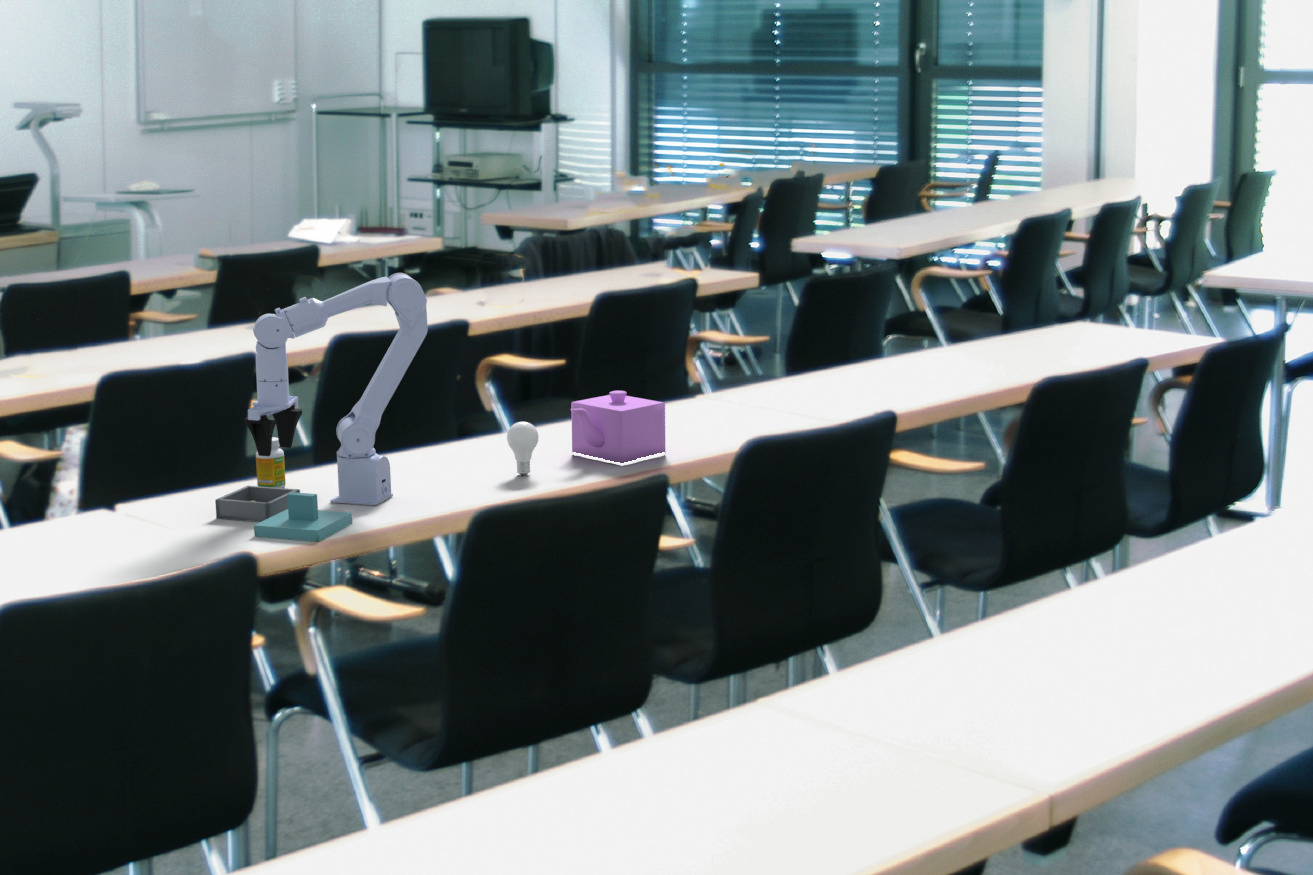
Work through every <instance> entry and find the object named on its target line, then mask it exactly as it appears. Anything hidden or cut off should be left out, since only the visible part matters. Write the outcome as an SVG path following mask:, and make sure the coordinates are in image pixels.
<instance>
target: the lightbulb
mask: <svg viewBox="0 0 1313 875" xmlns="http://www.w3.org/2000/svg"><path fill="white" fill-rule="evenodd" d="M506 440H507V444H508V446H509V448H510V449H511V451H512V453H513V455H514V459H515V461H516V473H517V474H519V475H520V474H522V475H521V476H526V475H528V474H530V473H531V459H532V457H533V456H532V455H533V452H534V450H535V448H536V447H537V445H538V442H539V432H538V430H537V428H536V427H535V425H533V424H532V423H531V422H528V421H518V422H515V423H513V424H512V425H511V426H510V427H509V428H508V431H507V433H506ZM525 474H526V475H525Z"/></svg>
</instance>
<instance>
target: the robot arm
mask: <svg viewBox="0 0 1313 875" xmlns="http://www.w3.org/2000/svg"><path fill="white" fill-rule="evenodd" d="M427 303H428V299H427V297H426V294H425V292H424V290H423V288H422V286H421V285H420V283H419V282H418V281H417V280H415V279H414V278H412V277H411V276H410V275H408V274H407V273H403V272H396V273H393V274H391V275H390V276H388V277H387V276H383V277H382V276H381V277H379V278H378V277H377V278H376V279H372V280H370V281H367V282H365V283H362V284H359V285H357V286H354V287H352V288H351V289H348V290H346V291H343V292H341V293H339V294H337V295H334V296H332V297H329V298H327V299H325V300H319V299H317V298H315V297H311V298H307V297H306V296H303V297H302V298H301V297H300V298H299V302H298V303H295V304H292V305H291V306H287V307H285V308H282V309H281V308H280V307H277V308H275V309H274V312H275V313H265V314H263V315H261V316H259V317H258V318H257V319H256V321H255V322H254V326H253V329H252V332H253V335H254V337H255V339H256V340H257V341H256V345H255V350H256V354H255V372H256V373H255V374H256V375H255V376H256V397H257V400H255V401H253V402H252V407H251V408H249V409H247V417H244V424H245V425H246V427H247V428H248V430H249V432H250V433H251V436H252V438H253V441H254V444H255V447H256V452H257V451H258V454H259V456H270V455H271V448H272V437H273V434H274V430H275V427H276V431H277V438H278V440H279V445H280V446H279V448H285V449H291V448H292V447H293V442H294V437H295V432H296V429H297V426H298V422H299V421H300V419H301V417H302V415H303V409H302V408H297V407H299V396H295V395H294V396H292V395H290V387H289V365H288V364H289V362H288V359H289V358H288V354H287V346H286V342H287V341H288V339H296V338H299V337H302V336H303V335H306V334H309V333H312V332H315V331H317V330H319V329H322V328H325V326H326V324H327V322H328V320H329V318H331V317H335V316H337V315H339V314H342V313H346V312H348V311H351V310H354V309H357V308H360V307H363V306H366V305H369V304H372V305H377V306H383V307H387V306H388V304H389V306H390V307H391V308H392V310H393V311H394V315H395V318H396V320H397V323H398V326H399V329H398V330H397V333H396V334H395V336H394V338H393V339H392V342H391V344H390V346H389V347H388V348H387V351H386V353H385V354H384V356H383V358H382V360H381V361H380V363H379V365H378V366H377V368H376V371H375V372H374V374H373V376H372V377H371V379H370V380H369V382H368V385H367V386H366V388H365V390H364V392H363V394H362V395H361V397H360V398H359V400H358V401H357V402H356V403H355V405H353V407H352V408H351V411H350V412H349V413H348V414H347V415H345V416H344V417H342V418H341V419H340V420H339V421H338V423H337V426H336V428H335V429H336V432H335V433H336V436H337V437H336V438H337V440H338V441H339V443H340V447H339V448H338V450H337V451H336V464H337V481H338V482H337V483H338V495H337V496H335V497H333V498H330V500H329V501H330V502H331V503H337V504H338V503H340V504H351V505H363V506H364V505H365V506H377V505H378V504H380V503H382V502H384V501H386V500H387V499H389V498H392V497H393V496H394V493H392V481H391V479H392V478H391V477H392V476H391V464H390V460H389V459H388V457H387V456H384V455H381V454H378V453H377V452H376V449H375V448H374V445H375V441H376V433H377V430H378V428H379V426H380V424H381V419H382V415H383V414H384V412H385V410H386V408H387V406H388V404H389V402H390V400H391V399H392V397H393V396H394V394H395V392H396V390H397V388H398V386H399V385H400V383H401V381H402V379H403V378H404V376H405V374H406V372H407V370H408V369H409V366H410V365H411V363H412V361H413V359H414V357H415V356H416V354H417V352H418V350H419V349H420V347H421V345H422V344H423V342H424V340H425V338H426V336H427V334H428V331H429V330H428V328H429V327H428V326H429V325H428V313H427ZM271 415H272V416H273V419H269V416H271Z"/></svg>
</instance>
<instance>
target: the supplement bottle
mask: <svg viewBox="0 0 1313 875" xmlns="http://www.w3.org/2000/svg"><path fill="white" fill-rule="evenodd" d="M284 453H285V452H284V450H283V449H282V448H281V447H280V445H279V440H278V437H275V436H272V448H271V455H270V456H259V454H258V451H257V450H256V452H255V463H256V464H255V465H256V467H255V468H256V482H257V484H256V486H260V487H273V488H285V487H286V468H285V464H286V463H285V454H284Z"/></svg>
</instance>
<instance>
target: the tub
mask: <svg viewBox="0 0 1313 875" xmlns="http://www.w3.org/2000/svg"><path fill="white" fill-rule="evenodd" d="M291 492H296V493H301V489H297V488H285V487H284V488H273V487H260V486H258V485H246V486H243V487H241V488H239V489H236V490H234V491H232V492H230V493H227V494H225V495H223V496H220V497H219V498H217V499H215V516H216V519H221V520H233V521H234V520H235V521H246V522H256V523H257V522H258V523H260V522H262V521H264V520H266V519H268V518H270V517H272V516H274V515H276V514H278V513H280V512H283V511H285V510H287V509H288V499H287V494H289V493H291Z"/></svg>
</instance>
